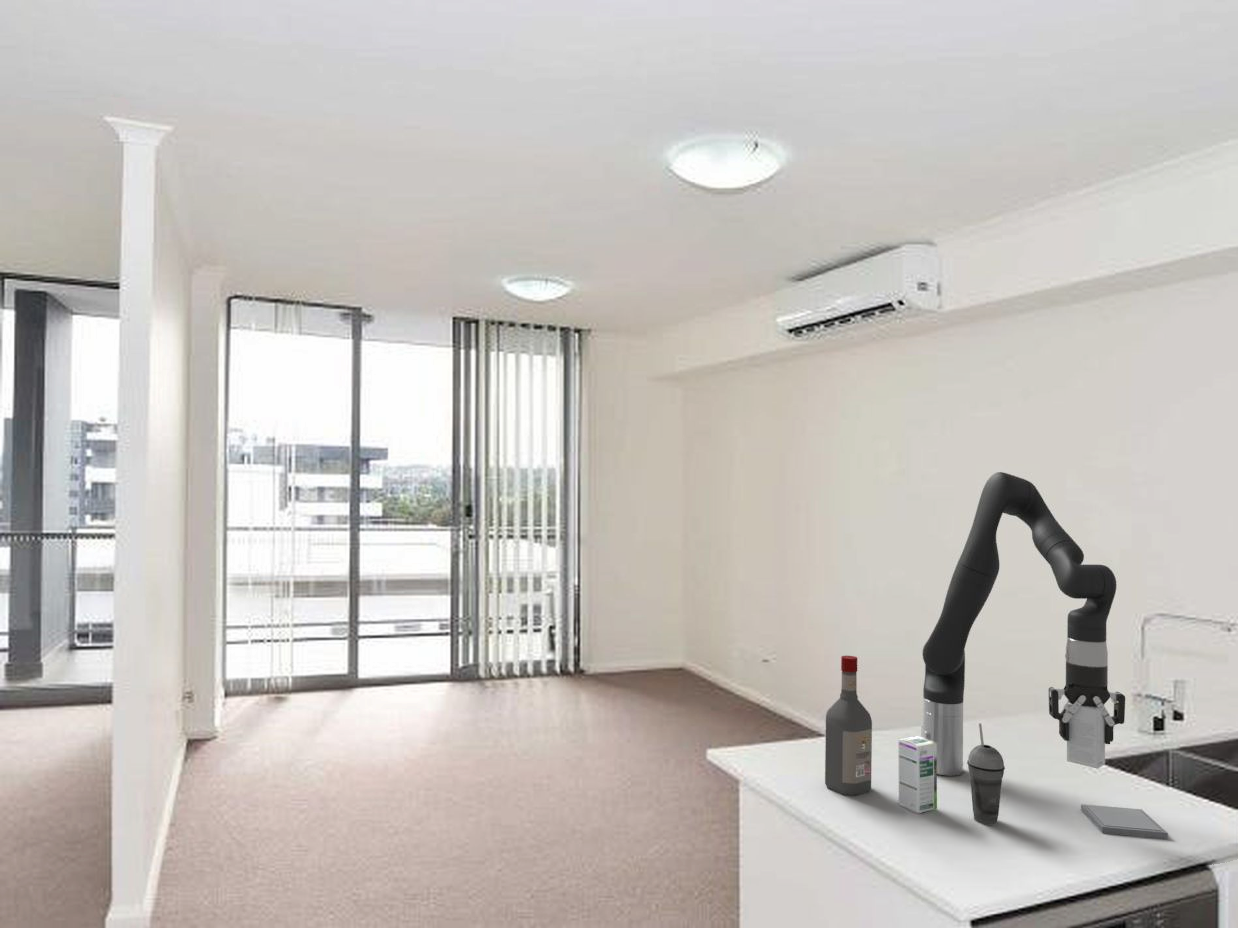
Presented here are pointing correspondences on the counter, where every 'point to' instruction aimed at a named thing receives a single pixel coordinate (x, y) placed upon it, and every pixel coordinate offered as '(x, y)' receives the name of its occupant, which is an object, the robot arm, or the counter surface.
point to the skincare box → (1086, 737)
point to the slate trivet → (1123, 821)
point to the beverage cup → (985, 781)
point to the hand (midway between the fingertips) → (1086, 741)
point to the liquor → (848, 738)
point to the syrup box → (918, 774)
